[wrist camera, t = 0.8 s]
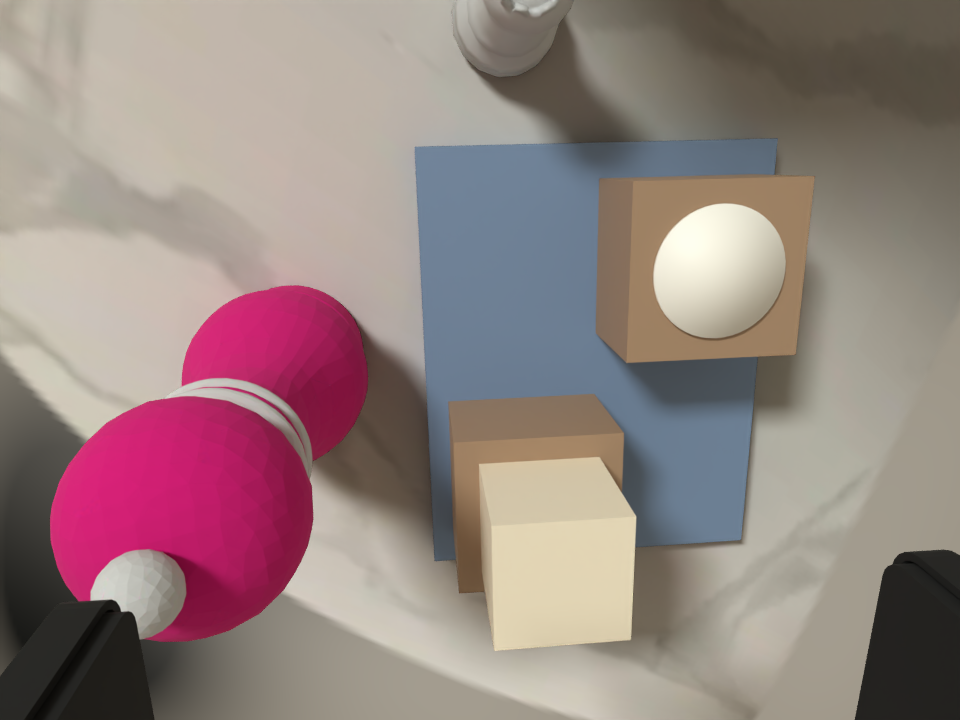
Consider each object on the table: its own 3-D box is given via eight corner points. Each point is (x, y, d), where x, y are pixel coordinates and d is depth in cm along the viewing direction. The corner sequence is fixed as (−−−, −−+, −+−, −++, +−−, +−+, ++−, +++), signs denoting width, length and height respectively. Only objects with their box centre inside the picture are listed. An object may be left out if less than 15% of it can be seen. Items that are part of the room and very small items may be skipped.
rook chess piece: (574, 2, 29) (629, -55, 22) (521, 98, 30) (556, 77, 23) (483, -60, 28) (507, -141, 21) (431, 42, 29) (437, 0, 22)
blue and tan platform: (414, 147, 30) (413, 139, 20) (764, 139, 32) (943, 127, 21) (434, 548, 36) (440, 712, 25) (730, 528, 37) (858, 676, 26)
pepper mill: (383, 412, 34) (338, 743, 14) (233, 430, 33) (-16, 795, 14) (362, 265, 32) (277, 424, 12) (202, 282, 31) (-140, 474, 12)
